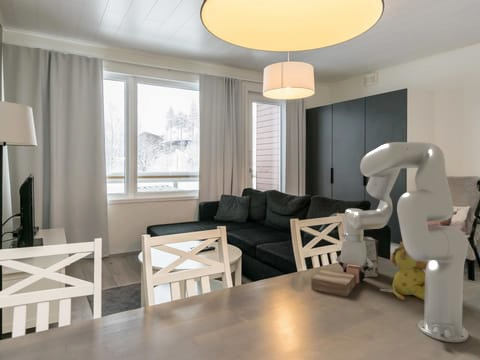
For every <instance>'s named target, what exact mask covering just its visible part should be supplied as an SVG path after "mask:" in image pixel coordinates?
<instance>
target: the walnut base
mask: <svg viewBox="0 0 480 360" xmlns="http://www.w3.org/2000/svg"><path fill="white" fill-rule="evenodd" d="M310 280H311V282H310V283H311V285H310V289H311V290H313V289H314V291H318V290H319V292H322V291H323V293H327V294H332V295H337V296H342V297H348V296H349V295H350V294H351V292H352V290H353V289H354V287H356V285H357V283H356V274H352V273H346V272H343V271H341V270H340V271H339V270H333V269H328V268H322V269H321V270H319V271H318V272H317V273H315V274H314V275H313V276H312V277H311V279H310Z"/></svg>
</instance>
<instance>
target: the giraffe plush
mask: <svg viewBox="0 0 480 360" xmlns="http://www.w3.org/2000/svg"><path fill="white" fill-rule="evenodd" d="M399 244H400V245H399V246H398V247H396V248H394V251H392V255H391V258H390V262H391V263H392V264H393V265H394V266H395V267H398V268H399V270H398V271H397V272H396V273H395V274H394V278H393V281H392V289H385V288H380V289H379V291H382V292H386V293H393V294H394V295H395V296H396V297H397V298H398V300H401V301H405V300H406V298H405V296H411V295H412V296H415V297H416V298H419V299H421V300H423V301H425V271H424V270H426V266H427V263H428V261H416V260H413V259H412V258H411V257H409V255H408V254H407V252H406V251H405V248H404V245H403V241H400V242H399Z"/></svg>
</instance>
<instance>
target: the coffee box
mask: <svg viewBox="0 0 480 360" xmlns="http://www.w3.org/2000/svg"><path fill="white" fill-rule="evenodd" d="M363 241H365V244H366V251H367V257H368V258H369V260H370V261H371V262H372V263H373V265H372V266H371V267H370V268H368V269H367V270H366V271H365V278H377V277H378V274H379V273H378V272H379V240H377V239H375V238H373V237H372V236H363ZM367 265H368V263H365V265H364V266H367Z"/></svg>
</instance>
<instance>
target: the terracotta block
mask: <svg viewBox="0 0 480 360" xmlns="http://www.w3.org/2000/svg"><path fill="white" fill-rule="evenodd" d="M360 272H361V269H360V266H357V265H350V264H348V265H347V267H346V273H352V274H356V284H360V282H361V281H360Z"/></svg>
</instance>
